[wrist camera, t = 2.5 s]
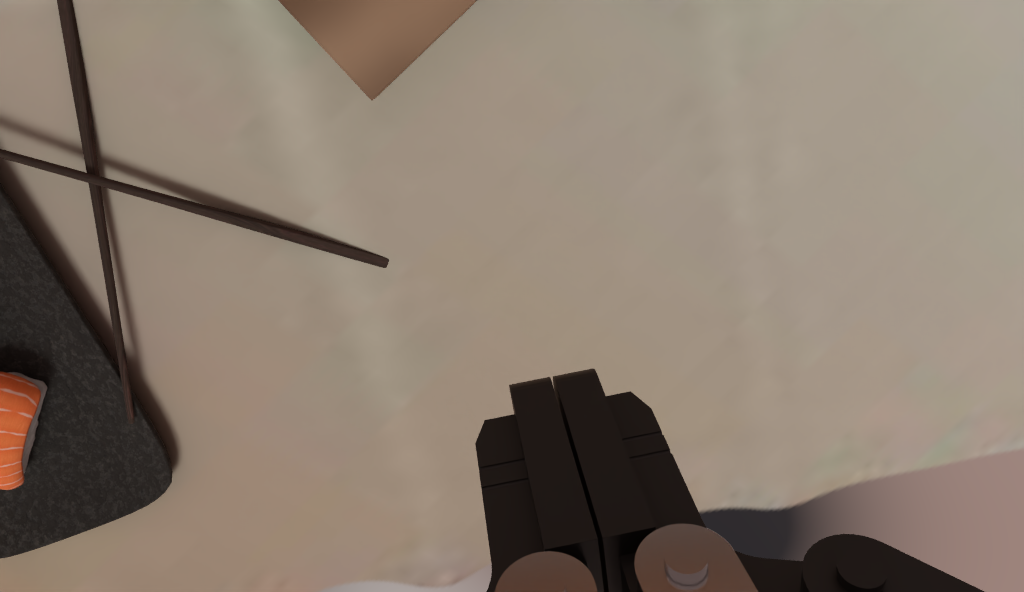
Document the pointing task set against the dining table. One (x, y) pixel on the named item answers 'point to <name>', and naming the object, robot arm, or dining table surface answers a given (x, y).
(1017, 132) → the dining table surface
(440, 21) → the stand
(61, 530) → the sushi plate
